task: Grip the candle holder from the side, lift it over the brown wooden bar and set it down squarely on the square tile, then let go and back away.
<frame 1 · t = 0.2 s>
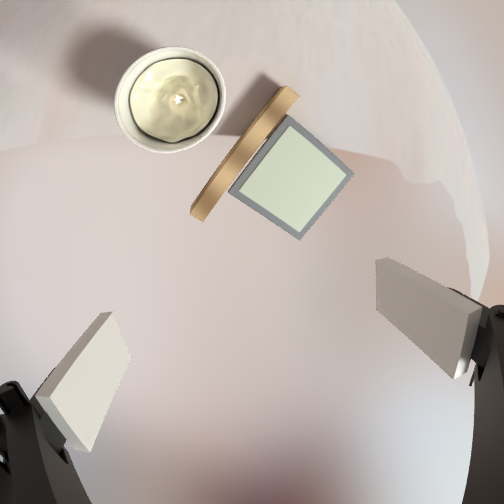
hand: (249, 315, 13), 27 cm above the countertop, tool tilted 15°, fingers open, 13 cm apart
square tile: (293, 180, 38), on the countertop
brown wooden bar: (240, 150, 35), on the countertop
candle holder: (181, 102, 31), on the countertop
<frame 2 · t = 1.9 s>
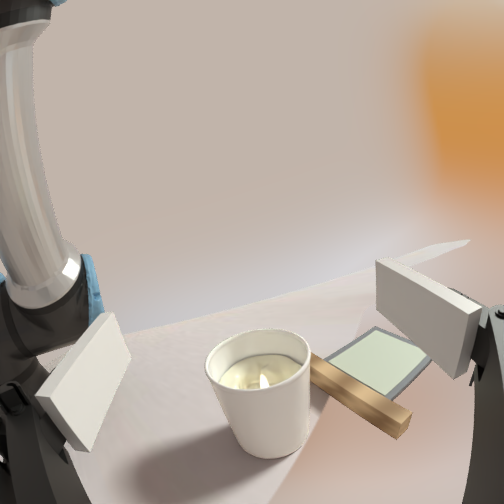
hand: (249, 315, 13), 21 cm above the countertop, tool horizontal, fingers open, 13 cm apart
square tile: (380, 362, 35), on the countertop
brown wooden bar: (343, 396, 31), on the countertop
candle holder: (273, 433, 28), on the countertop
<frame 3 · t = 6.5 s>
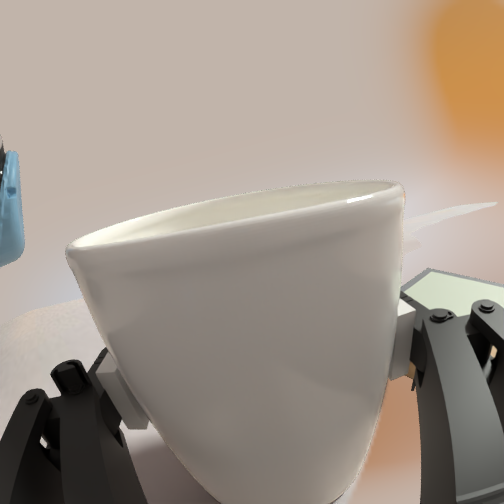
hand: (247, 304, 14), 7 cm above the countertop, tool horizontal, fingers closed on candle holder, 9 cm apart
square tile: (454, 311, 19), on the countertop
candle holder: (281, 455, 11), on the countertop, touching gripper
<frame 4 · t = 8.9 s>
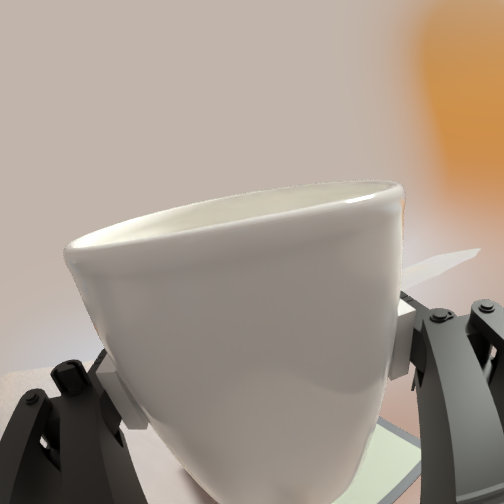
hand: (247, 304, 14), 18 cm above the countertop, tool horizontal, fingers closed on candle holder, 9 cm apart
square tile: (343, 466, 18), on the countertop
candle holder: (280, 455, 11), point 12 cm above the countertop, touching gripper
when the fingers open (8 cm above the countertop, at t = 11.8 s): candle holder moves 3 cm, resting on square tile.
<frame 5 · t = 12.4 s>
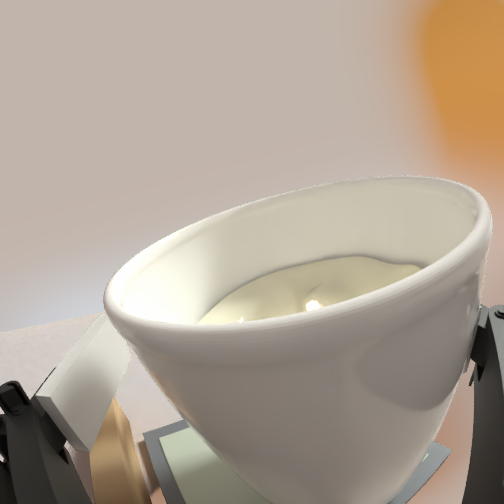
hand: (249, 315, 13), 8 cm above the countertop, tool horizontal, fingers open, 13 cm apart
square tile: (283, 468, 12), on the countertop
candle holder: (338, 456, 11), point 1 cm above the countertop, touching gripper, square tile
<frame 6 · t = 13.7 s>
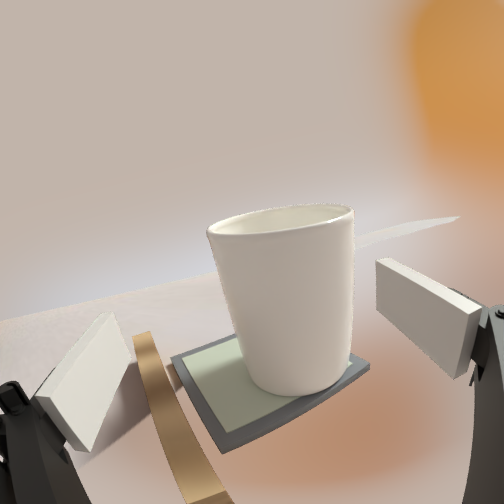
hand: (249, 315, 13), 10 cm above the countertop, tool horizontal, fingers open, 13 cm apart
square tile: (260, 371, 23), on the countertop
brown wooden bar: (171, 415, 18), on the countertop
candle holder: (298, 364, 22), point 1 cm above the countertop, touching square tile
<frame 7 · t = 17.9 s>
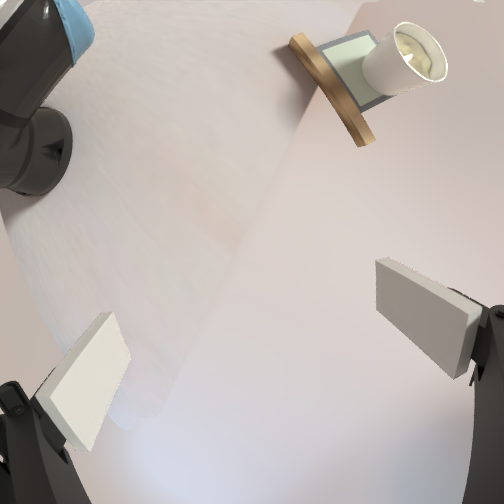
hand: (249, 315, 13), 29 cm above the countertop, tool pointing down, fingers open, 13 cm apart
square tile: (363, 69, 36), on the countertop
brown wooden bar: (328, 90, 37), on the countertop
candle holder: (381, 74, 36), point 1 cm above the countertop, touching square tile
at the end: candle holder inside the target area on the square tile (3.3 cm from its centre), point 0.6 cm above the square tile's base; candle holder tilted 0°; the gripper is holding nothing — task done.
